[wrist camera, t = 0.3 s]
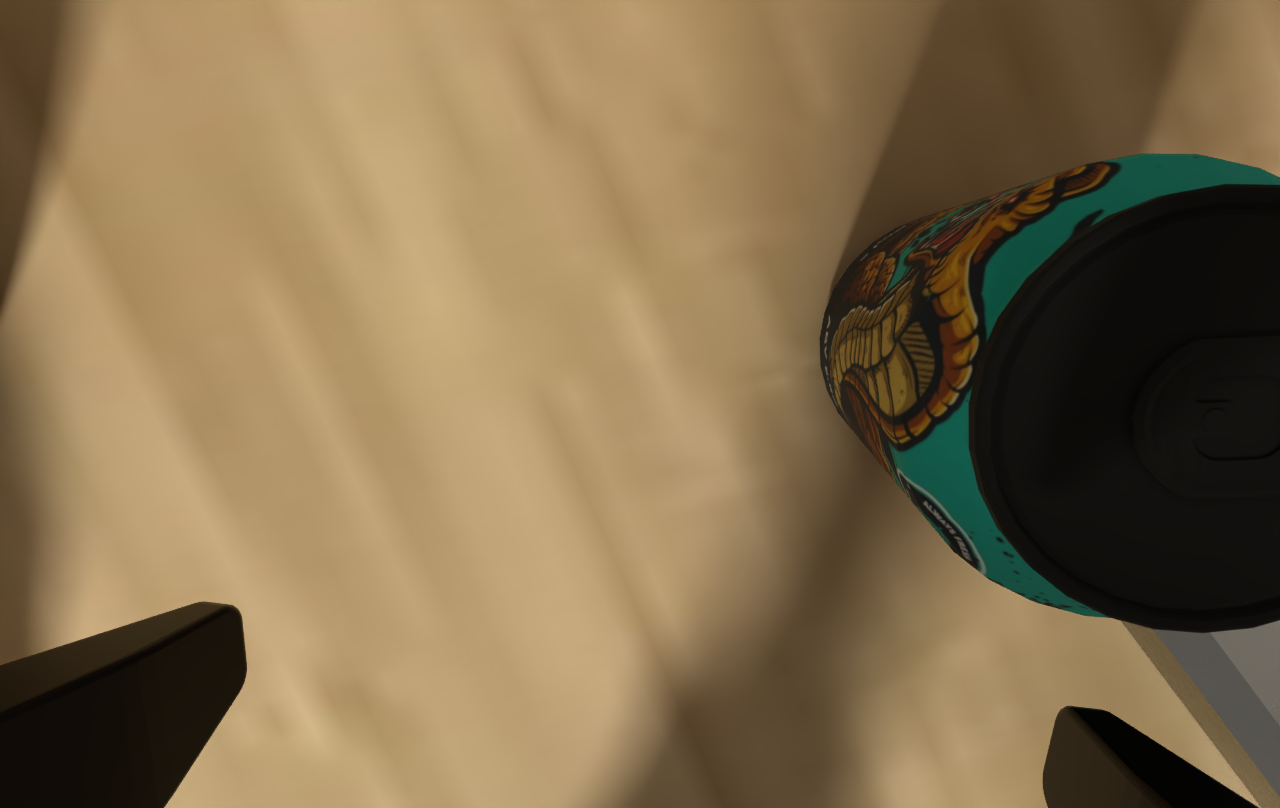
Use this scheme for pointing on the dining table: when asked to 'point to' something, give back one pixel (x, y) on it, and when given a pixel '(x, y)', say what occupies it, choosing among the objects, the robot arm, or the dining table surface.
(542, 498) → the dining table surface
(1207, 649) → the open rectangular box
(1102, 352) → the beverage can
